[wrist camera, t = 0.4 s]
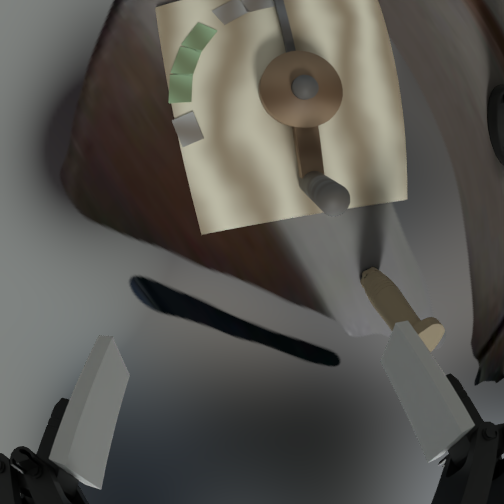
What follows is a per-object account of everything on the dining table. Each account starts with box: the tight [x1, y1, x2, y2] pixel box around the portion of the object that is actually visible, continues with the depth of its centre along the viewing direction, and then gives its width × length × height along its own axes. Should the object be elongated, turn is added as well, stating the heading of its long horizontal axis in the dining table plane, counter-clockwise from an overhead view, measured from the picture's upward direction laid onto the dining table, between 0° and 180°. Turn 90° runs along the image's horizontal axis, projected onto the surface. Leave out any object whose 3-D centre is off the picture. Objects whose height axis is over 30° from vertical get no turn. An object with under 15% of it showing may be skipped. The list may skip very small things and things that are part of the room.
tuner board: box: [155, 0, 407, 234], centre depth 25 cm, size 26×28×1 cm
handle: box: [360, 267, 444, 352], centre depth 30 cm, size 5×6×15 cm
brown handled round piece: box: [259, 0, 350, 216], centre depth 20 cm, size 25×8×8 cm, turn 10°
